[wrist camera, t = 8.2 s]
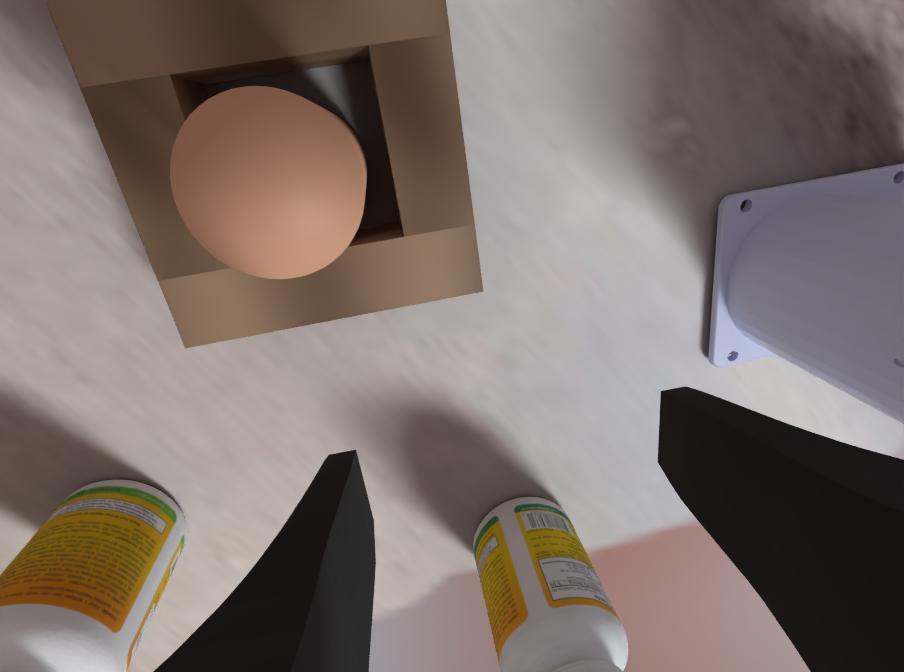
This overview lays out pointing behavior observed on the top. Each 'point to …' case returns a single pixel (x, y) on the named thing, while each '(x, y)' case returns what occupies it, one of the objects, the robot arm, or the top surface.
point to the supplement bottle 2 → (544, 593)
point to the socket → (263, 53)
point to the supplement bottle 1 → (89, 580)
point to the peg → (269, 181)
